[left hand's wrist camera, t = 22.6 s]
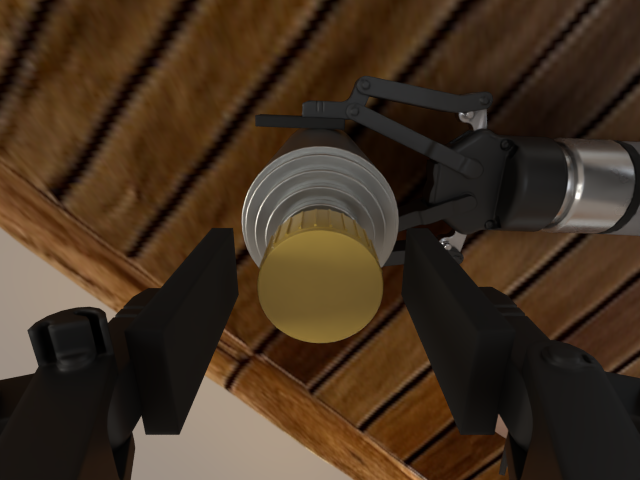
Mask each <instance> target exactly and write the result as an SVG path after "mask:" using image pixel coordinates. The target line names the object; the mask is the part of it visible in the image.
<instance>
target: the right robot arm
mask: <svg viewBox="0 0 640 480" xmlns="http://www.w3.org/2000/svg"><path fill="white" fill-rule="evenodd" d="M369 97H374V98H379V99H384V100H389V101H393V102H398V103H403V104H408V105H413V106H417V107H422V108H427V109H432V110H437V111H442V112H453V113H455V118H456V120H457V121H459V122H464V123H466V124H467V125H468V126H469V130H468V131H467V132H465V133H463V134H462V135H460V136H459V137H457V138H456V139H454V140H452V141H451V142H449V143H448V144H446V145H442V144H440V143H438V142H436V141H433V140H431V139H429V138H427V137H425V136H423V135H421V134H419V133H417V132H415V131H413V130H411V129H409V128H407V127H405V126H403V125H401V124H399V123H397V122H395V121H393V120H391V119H389V118H387V117H385V116H383V115H381V114H379V113H377V112H375V111H373V110H371V109H369V108H367V107H365V105H366V103H367V100H368V98H369ZM492 102H493V97H492V95H491V93H489V92H473V93H466V94H460V95H455V94H450V93H445V92H441V91H436V90H431V89H427V88H422V87H417V86H412V85H408V84H403V83H398V82H394V81H389V80H384V79H379V78H375V77H370V76H363V77H361V78H359V79H358V80H357V81H356V82H355V85H354V88H353V90H352V93H351V95H350V97H349V98H348V99H347V100H346V101H344V102H330V101H307V102H305V103H303V112H302V116H291V115H266V114H260V115H255V119H256V126H263V127H288V128H312V129H337V130H344V128H345V119H348V120H353V121H355V122H358V123H360V124H362V125H364V126H366V127H368V128H370V129H372V130H374V131H376V132H378V133H380V134H382V135H384V136H386V137H388V138H390V139H392V140H394V141H397V142H399V143H401V144H403V145H405V146H407V147H409V148H411V149H413V150H415V151H417V152H419V153H421V154H423V155H425V156H427V157H429V158H430V160H427V167H426V172H427V181H426V183H425V186H424V189H423V196H422V197H421V198H418V199H415V200H413V201H411V203H409V204H406V205H403V206H401V207H398V215H399V226H398V232H400V231H403V230H406V229H407V228H411V227H414V226H417V225H427V224H431V223H433V222H436V221H439V220H443V221H444V222H446V223H447V224H448V225H449V226H450V227H452V230H451V231H450V232H449V233H447V234H440V235H438V236H437V237H436V238H437V239H438V241H439V242H440V243H441V244H442V245H443V246H444V248H445V249H446V250H447V251H448V252H449V253H450V255H451V256H452V257H453V258H454V259H455V260H456V262H457V263H458V264H460V263H462V261H463V258H464V257H463V255H462V254H461V253H460V251H461V248H462V246H463V243H464V241H465V238H466V236H467V235H469V234H472V233H474V232H476V231H479V230H504V231H532V232H534V231H539V230H541V231H543V232H552V233H594V234H617V235H636V236H640V142H627V141H616V140H600V139H578V138H555V139H551V138H548V137H530V136H506V135H497V134H495V133H493V132H492V131H491V130H489V129H487V108H489V107H490V106H491V104H492ZM405 247H406V240H400V241H396V242H395V245H394V248H393V250H392V252H391V254H390V256H389V258H388V259H387V261H386V262H385V264H384V265H383V266H390V265H400V264H404V259H405Z"/></svg>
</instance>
